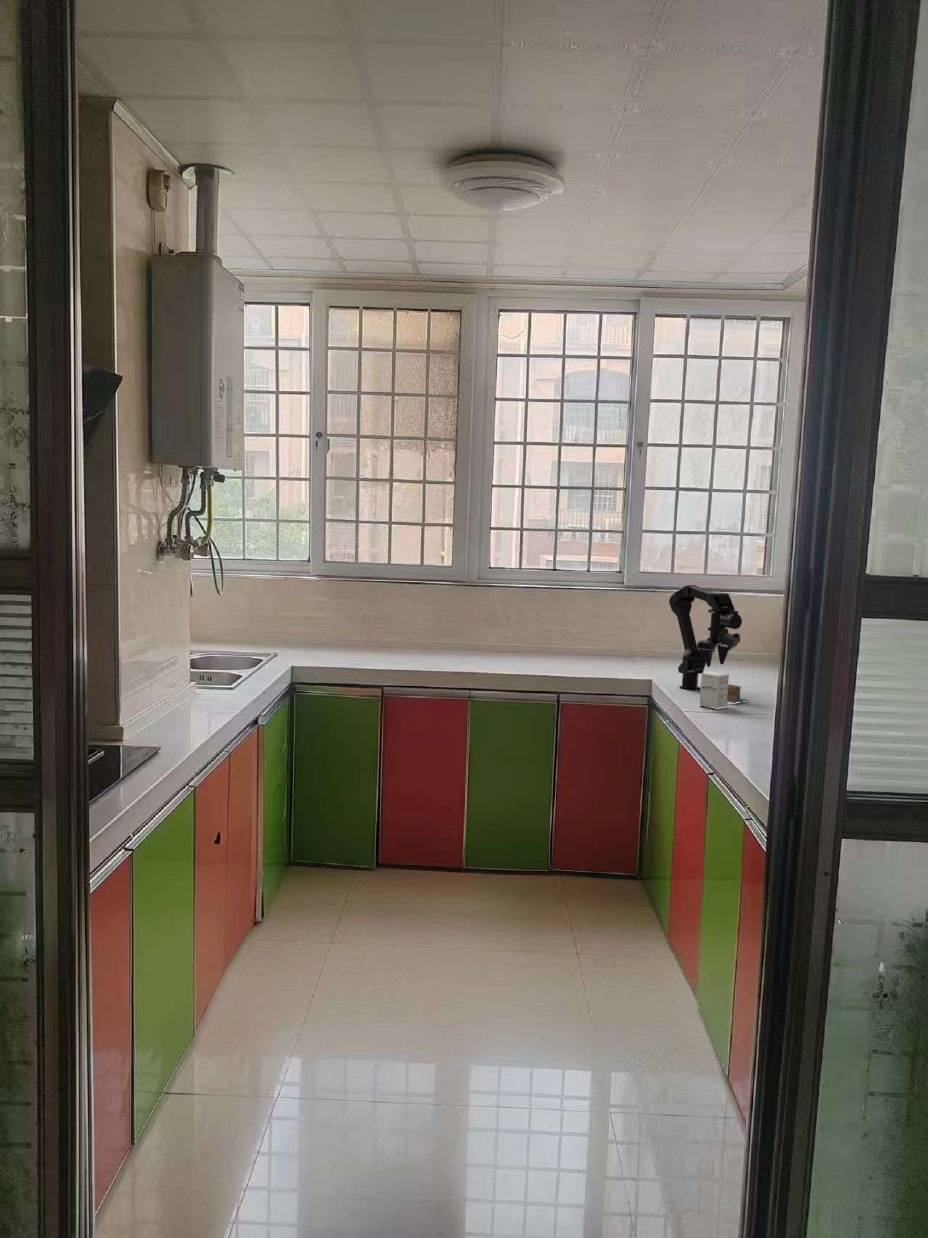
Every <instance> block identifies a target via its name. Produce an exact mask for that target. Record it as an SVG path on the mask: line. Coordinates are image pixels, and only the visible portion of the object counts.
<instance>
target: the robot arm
mask: <svg viewBox="0 0 928 1238" xmlns="http://www.w3.org/2000/svg"><path fill="white" fill-rule="evenodd" d="M696 599H698V600H701V601H703V602H706V604H707V605H708V606H709V607H710V608H709V609H708V610H707V612H708V613H710V614H711V615H710V627H708V628H707V631H709V637H707V639H706V640H705V639H704V640H698V642H697V640H696V636H695V632H694V627H693V624H692V618H691V615H690V613H691V611H692V608H693V606H692V603H693V602H694V601H695V600H696ZM668 603H669V606H670V610H671V611H672V613H674V615H675V616H676V617H677V621H678V627H679V630H680V635H681V639H682V643H683V648H684V652H683V655H682V662H681V663H680V665H678V667H677V669H678V673H679V674H682V678H681V679H682V680H681V685H679V686H678V688H679V687H680V688H679V689H684V688H687V689H686V690H689V689H691V690H690V691H694V690H693V689H695V690H699V689H698V688H700V689H701V686H698V685H699V674H700V675H702V673H704V670H705V667H707V668H710V667H711V664H712V659H713V654H714V653H715V652H716V649H717V653H718V654H717V655H718V659H719V663H720V664H719V665H721V666H723V665H724V663H725V661H726V659H727V656H728V654H729V652H730V651H731V650H733V649H734V648H736V647H738V644H739V643H741V634H739V633H738V632H735V633H729V629H732V630H738V629H740V627H741V626H742V623H743V619H742V617H741V615H740V614H739V610H736V608H735V606H734V604H733V600H732V598H731V597H730V594H729V593H727V592H714V591H711V590H710V589H709V590H708V589H705V588H702V587H700V586H697V585H695V584H686V585H685V586H683V587H682V588H681V589H679V590H677V591H675V592H674V593H673V594H672V595H671V596H670V598H669V599H668Z"/></svg>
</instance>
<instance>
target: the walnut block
mask: <svg viewBox="0 0 928 1238" xmlns="http://www.w3.org/2000/svg"><path fill="white" fill-rule="evenodd" d="M741 690H742V689H741V686H740V685H734V684H730V683H728V694H727V700H730V701H735V700H740V698H741Z"/></svg>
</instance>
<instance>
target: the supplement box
mask: <svg viewBox="0 0 928 1238" xmlns="http://www.w3.org/2000/svg"><path fill="white" fill-rule="evenodd" d="M729 677H730V674H728V673H724V672H718V671H711V670H709V671H705V672H703V673H702V674H701V677H700V678H701V682H700V687H701V688H700V692H699V693H700V695H699V706H700V705H701V706H706V707H714V708H719V707H724V706H726V707H727V706H728V704H727V694H728V684H729ZM706 707H705V708H706Z"/></svg>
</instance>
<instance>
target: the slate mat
mask: <svg viewBox="0 0 928 1238" xmlns="http://www.w3.org/2000/svg"><path fill="white" fill-rule="evenodd" d="M743 701H748V702H749V699H747V698H742V697H740V700H735V701H730V700H727V702H731V703H736V702H743Z"/></svg>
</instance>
